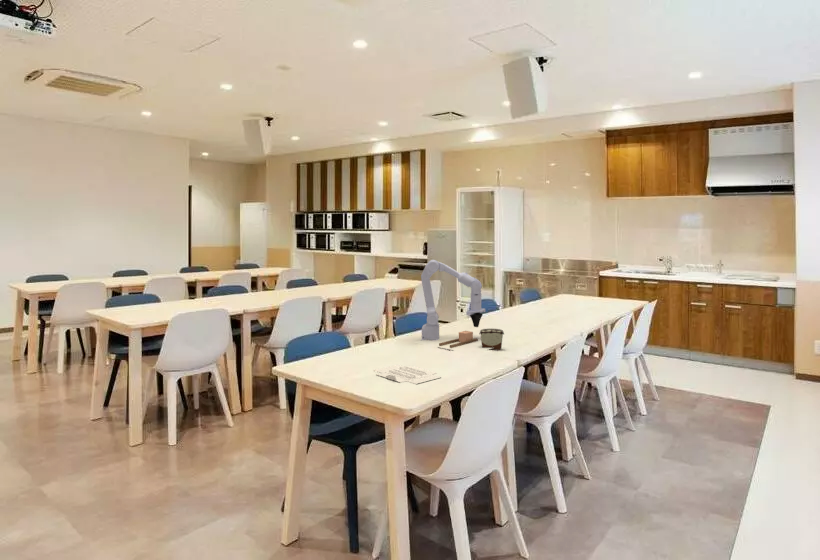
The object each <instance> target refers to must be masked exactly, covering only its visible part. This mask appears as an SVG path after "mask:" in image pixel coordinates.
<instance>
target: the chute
mask: <svg viewBox="0 0 820 560" xmlns="http://www.w3.org/2000/svg"><path fill="white" fill-rule="evenodd" d="M478 341H479V339H478V338H473V339H472V340H468V341H464V342H459V337H458V338H455V339H451V340H447V341H443V342H440V343H438V345H439V347H438V346H437V348H438V349H442V350H447V351H452V352H455V350H454V348H457V347H460V346H464V345H468V344H472V343H476V342H478ZM448 345H449V348H443V347H442V346H448Z"/></svg>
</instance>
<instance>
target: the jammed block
mask: <svg viewBox="0 0 820 560" xmlns="http://www.w3.org/2000/svg"><path fill="white" fill-rule="evenodd" d="M458 338H459V342H458V343H460V342H464V341H468V340H472V339H474V332H473V331H470V330H463V331H459V332H458Z"/></svg>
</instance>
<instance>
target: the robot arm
mask: <svg viewBox="0 0 820 560" xmlns="http://www.w3.org/2000/svg"><path fill="white" fill-rule="evenodd" d="M437 272H445V273H447V274H449V275H451V276H452V277H454V278H456V279H457V281H458V283H461V284H462V285H464V286H466V287H467V288H470V309H469V310H468V311H466V314H465V315H466V316H469V317H470V318H471V321H472V325H473V328H479V326H480V322H481V319H482V316H483V313H486V308H483V307H482V287H483V285H482V282H481V281H480V280H479V279H478V278H476V277H475V276H474V277H473V276H471V275H470V274H469V273H468V272H464V271H462V272H459V271H457V270H456V269H454V268H452V267H450V265H447V264H446V263H443V262H441V261H438V260H436V259H431V260H429V261H428V262H427V263H426V265H425V266H424V268H423V270H422V273H421V275H420V279H421V280H420V281H421V285H422V290H423V295H424V301H425V306H426V307H425V308H426V315H427V316H426V323H424V324H423V325H422V327H421V341H424V340H429V341H439V340H440V323H439V314H438V313H437V310H436V306H435V301H434V296H433V289H432V284H431V279H430V278H431V277H432V276H433V275H434V274H435V273H437Z"/></svg>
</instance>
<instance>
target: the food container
mask: <svg viewBox="0 0 820 560" xmlns="http://www.w3.org/2000/svg"><path fill="white" fill-rule="evenodd" d="M478 334H479V335H480V342H481V349H482V348H484V349H485V348H490V349H488V351H502V346H503V345H502V344H503V337H504V336H503V335H505V333H504V330H502V329H500V328H482V329H480V330H479V333H478Z"/></svg>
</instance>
